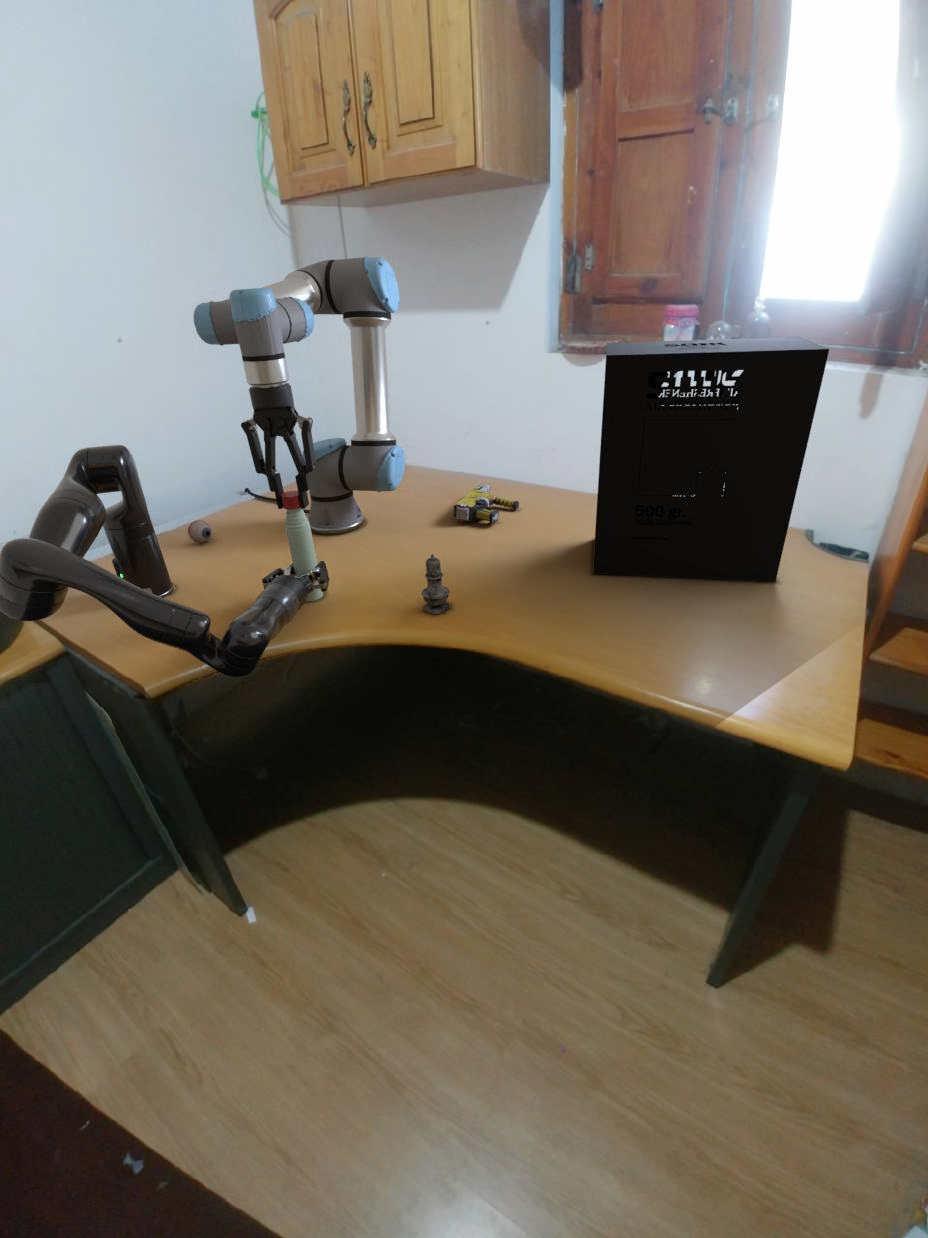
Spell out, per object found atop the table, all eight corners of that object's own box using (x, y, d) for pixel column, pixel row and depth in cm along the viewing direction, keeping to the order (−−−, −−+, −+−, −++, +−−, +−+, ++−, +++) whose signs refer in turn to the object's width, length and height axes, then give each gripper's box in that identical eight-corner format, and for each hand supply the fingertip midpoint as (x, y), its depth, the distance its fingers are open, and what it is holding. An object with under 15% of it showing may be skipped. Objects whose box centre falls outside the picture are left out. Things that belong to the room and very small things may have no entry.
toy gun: (527, 488, 179) (479, 481, 183) (505, 513, 159) (452, 504, 162) (525, 503, 181) (478, 496, 185) (503, 529, 161) (451, 520, 165)
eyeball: (201, 547, 160) (195, 526, 157) (186, 543, 163) (180, 522, 160) (220, 539, 164) (214, 518, 161) (205, 536, 167) (199, 515, 164)
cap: (285, 503, 124) (282, 491, 122) (305, 501, 124) (303, 489, 123) (281, 510, 120) (278, 497, 119) (302, 508, 120) (299, 496, 119)
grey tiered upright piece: (447, 614, 122) (443, 560, 116) (419, 613, 123) (413, 559, 117) (453, 601, 127) (450, 548, 121) (426, 599, 128) (421, 547, 122)
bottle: (319, 601, 130) (299, 500, 119) (297, 601, 130) (275, 500, 119) (326, 591, 134) (307, 492, 123) (305, 591, 135) (284, 492, 123)
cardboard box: (755, 543, 144) (798, 336, 121) (775, 581, 127) (829, 348, 104) (594, 538, 151) (606, 342, 129) (592, 573, 134) (606, 355, 112)
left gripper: (249, 617, 120) (283, 579, 134) (318, 619, 118) (345, 580, 132) (241, 583, 116) (276, 548, 131) (311, 585, 114) (339, 548, 128)
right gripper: (320, 378, 113) (339, 499, 124) (232, 382, 114) (259, 501, 126) (308, 385, 106) (330, 511, 118) (215, 389, 108) (245, 513, 120)
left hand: (310, 564), depth 131 cm, fingers closed on bottle, 5 cm apart
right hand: (293, 506), depth 122 cm, fingers closed on cap, 4 cm apart
